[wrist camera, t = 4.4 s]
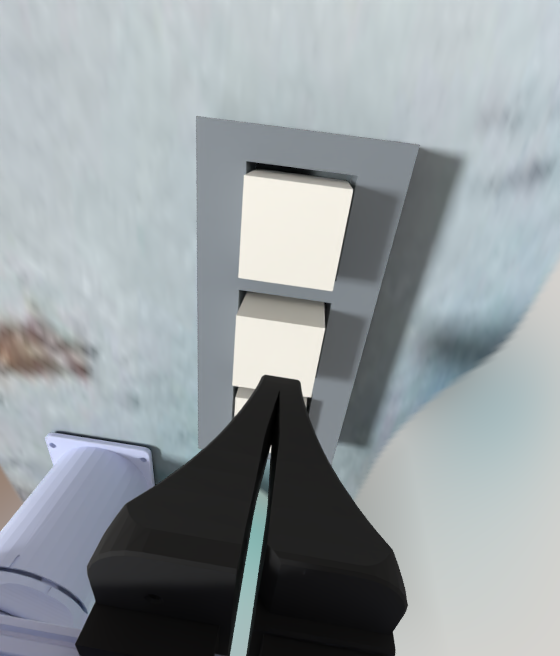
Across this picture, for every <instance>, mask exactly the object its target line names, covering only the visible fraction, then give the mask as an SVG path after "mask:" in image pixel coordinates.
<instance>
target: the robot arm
mask: <svg viewBox="0 0 560 656" xmlns="http://www.w3.org/2000/svg"><path fill="white" fill-rule="evenodd" d="M45 440H46V443H47V446H48V449H49V453H50V456H51V459H52V462H53V465H54V466H53V467H52V469H51V470H50V471H49V472H48V473H47V475H46V476H45V477H44V478H43V480H42V481H41V482H40V483H39V485H38V486H37V487H36V488H35V490H34V491H33V492H32V493H31V495H30V496H29V497H28V498H27V499H26V501H25V502H24V503H23V504H22V506H21V507H20V508H19V509H18V511H17V512H16V513H15V514H14V516H13V517H12V518H11V519H10V521H9V522H8V523H7V524H6V526H5V527H4V528H3V529H2V530H1V532H0V656H230V651H231V645H232V639H233V632H234V627H235V621H236V615H237V609H238V603H239V597H240V591H241V585H242V579H243V573H244V567H245V561H246V556H247V549H248V544H249V538H250V532H251V526H252V520H253V515H254V510H255V505H256V500H257V497H258V493H259V489H260V485H261V482H262V478H263V474H264V470H265V466H266V463H267V459H268V455H269V451H270V447H271V457H270V475H269V492H268V507H267V517H266V524H265V531H264V538H263V545H262V552H261V559H260V565H259V573H258V580H257V586H256V593H255V600H254V607H253V614H252V620H251V628H250V635H249V641H248V648H247V654H246V656H395V644H394V637H393V630H394V629H395V628H396V626H397V625H398V623H399V622H400V620H401V619H402V617H403V616H404V614H405V612H406V609H407V606H408V604H407V599H406V591H405V587H404V583H403V579H402V576H401V573H400V569H399V566H398V564H397V561H396V558H395V555H394V552H393V550H392V549H391V547H390V546H389V545H388V544H387V543H386V542H385V540H384V539H383V538H382V537H381V536H380V535H379V534H378V532H377V531H376V530H375V529H374V528H373V526H372V525H371V524H370V523H369V521H368V520H367V519H366V517H365V516H364V515H363V513H362V512H361V511H360V509H359V508H358V507H357V505H356V504H355V502H354V501H353V499H352V498H351V496H350V495H349V493H348V492H347V490H346V489H345V488H344V486H343V485H342V483H341V482H340V480H339V478H338V477H337V475H336V473H335V471H334V470H333V468H332V466H331V464H330V463H329V461H328V459H327V457H326V455H325V453H324V451H323V449H322V447H321V445H320V443H319V440H318V438H317V436H316V434H315V431H314V429H313V426H312V423H311V421H310V418H309V415H308V412H307V409H306V406H305V402H304V399H303V394H302V389H301V383H300V381H299V380H296V379H290V378H284V377H277V376H271V375H264V376H262V377H261V380H260V382H259V383H258V385H257V387H256V389H255V390H254V392H253V393H252V395H251V396H250V398H249V399H248V400H247V402H246V403H245V404H244V406H243V407H242V408H241V410H240V411H239V412H238V413H237V415H236V416H235V417H234V418H233V419H232V420H231V422H230V423H229V424H228V425H227V426H226V427H225V428H224V429H223V430H222V431H221V433H220V434H219V435H218V436H217V437H216V438H215V439H213V440H212V441H211V442H210V443H209V444H208V445H207V446H206V447H205V448H204V449H203V450H201V451H200V452H199V453H198V454H197V455H196V456H195V457H193V458H192V459H191V460H190V461H188V462H187V463H186V464H185V465H183V466H182V467H181V468H179V469H178V470H176V471H175V472H174V473H172V474H171V475H170V476H168V477H167V478H165V479H164V480H163V481H161V482H160V483H158V484H157V485H155V482H154V473H153V463H152V454H151V451H150V449H148V448H146V447H141V446H135V445H129V444H123V443H116V442H110V441H104V440H97V439H91V438H85V437H78V436H72V435H66V434H59V433H49V434H48V435H47V436H46V437H45Z"/></svg>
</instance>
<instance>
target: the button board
mask: <svg viewBox="0 0 560 656" xmlns="http://www.w3.org/2000/svg"><path fill="white" fill-rule="evenodd" d="M419 146H420V145H417V144H410V143H402V142H394V141H386V140H379V139H371V138H363V137H355V136H347V135H340V134H332V133H324V132H316V131H309V130H301V129H293V128H285V127H277V126H270V125H262V124H254V123H246V122H239V121H231V120H223V119H215V118H207V117H200V116H196V160H197V314H198V448H200V449H204V448H205V447H206V446H207V445H208V444H209V443H210V442H211V441H212V440H213V439H215V438H216V437H217V436H218V435H219V434H220V433H221V431H222V430H223V429H224V428H225V427H226V426H227V425H228V424H229V423H230V422H231V420H232V419H233V418H234V413H235V397H236V394H237V391H238V388H239V387H238V386H232V381H233V363H234V345H235V327H236V315H237V313H238V310H239V308H240V306H241V304H242V302H243V300H244V297H245V295H246V293H247V291H250V292H257V293H264V294H271V295H278V296H285V297H292V298H299V299H306V300H313V301H320V302H326V307H325V312H324V313H325V331H324V336H323V341H322V346H321V351H320V356H319V361H318V366H317V371H316V375H315V380H314V385H313V390H312V395H311V397H308V398H307V405H306V409H307V412H308V415H309V418H310V421H311V423H312V426H313V429H314V431H315V434H316V436H317V438H318V440H319V443H320V445H321V447H322V449H323V451H324V453H325V455H326V457H327V459H328V461H329V463H330V464H331V465H332V461H333V458H334V454H335V450H336V447H337V443H338V440H339V436H340V432H341V429H342V425H343V421H344V418H345V414H346V411H347V407H348V403H349V400H350V396H351V393H352V389H353V385H354V382H355V378H356V374H357V371H358V367H359V364H360V360H361V356H362V353H363V349H364V345H365V342H366V338H367V335H368V331H369V327H370V324H371V320H372V317H373V313H374V309H375V306H376V302H377V298H378V295H379V291H380V288H381V284H382V280H383V277H384V273H385V269H386V266H387V262H388V259H389V255H390V251H391V248H392V244H393V241H394V237H395V233H396V230H397V226H398V222H399V219H400V215H401V212H402V208H403V204H404V201H405V197H406V193H407V190H408V186H409V183H410V179H411V175H412V172H413V168H414V165H415V161H416V157H417V154H418V150H419ZM256 162H257V163H265V164H272V165H280V166H287V167H295V168H302V169H310V170H318V171H325V172H333V173H340V174H348V175H351V180H350V186H351V187H352V189H353V194H352V199H351V204H350V208H349V213H348V218H347V223H346V228H345V233H344V238H343V243H342V248H341V253H340V258H339V262H338V267H337V272H336V277H335V282H334V287H333V291H326V290H319V289H312V288H305V287H298V286H291V285H284V284H277V283H270V282H263V281H256V280H249V279H242V278H238V273H239V255H240V237H241V220H242V202H243V184H244V175H245V174H247V173H249V172H251V171H253V170H255V169H256ZM270 457H271V453H269V455H268V459H270Z"/></svg>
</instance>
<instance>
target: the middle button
mask: <svg viewBox="0 0 560 656" xmlns="http://www.w3.org/2000/svg"><path fill="white" fill-rule="evenodd" d="M324 331H325V313H324V302H320V301H313V300H306V299H299V298H292V297H285V296H278V295H271V294H264V293H257V292H250V291H247V293H246V295H245V297H244V300H243V302H242V304H241V306H240V308H239V310H238V313H237V315H236V327H235V345H234V363H233V381H232V386H238V387H245V388H252V389H256V387H257V385H258V383H259V382H260V380H261V377H262V376H264V375H271V376H277V377H284V378H290V379H296V380H299V381H300V383H301V389H302V394H303V396H304V397H311V395H312V390H313V385H314V380H315V375H316V371H317V366H318V361H319V356H320V351H321V346H322V341H323V336H324Z"/></svg>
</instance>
